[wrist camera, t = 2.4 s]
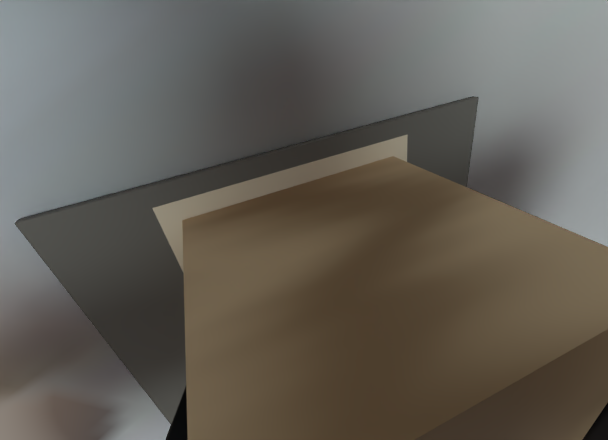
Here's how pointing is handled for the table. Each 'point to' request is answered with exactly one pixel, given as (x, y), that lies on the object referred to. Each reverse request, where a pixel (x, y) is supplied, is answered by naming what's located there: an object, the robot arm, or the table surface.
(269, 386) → the oak block
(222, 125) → the table surface
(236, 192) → the mat
